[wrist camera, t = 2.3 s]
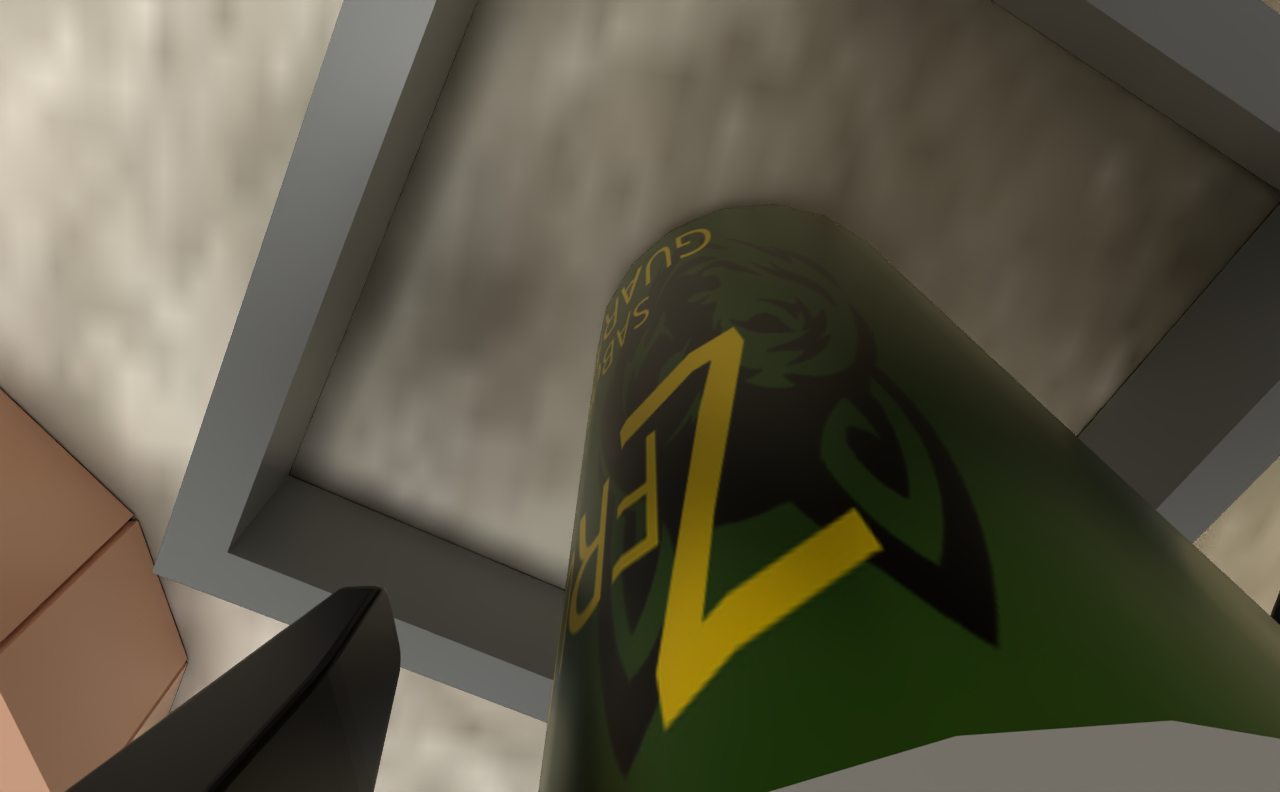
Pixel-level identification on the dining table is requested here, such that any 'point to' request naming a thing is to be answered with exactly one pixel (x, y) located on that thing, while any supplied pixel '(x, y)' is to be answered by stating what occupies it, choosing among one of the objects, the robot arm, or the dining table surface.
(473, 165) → the dining table surface
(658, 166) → the dining table surface
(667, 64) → the dining table surface
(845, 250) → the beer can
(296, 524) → the gray square frame
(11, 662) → the bowl
